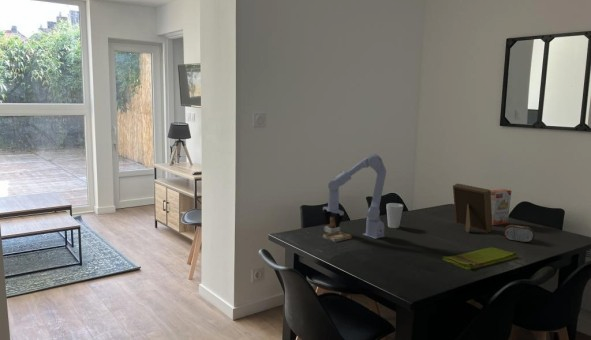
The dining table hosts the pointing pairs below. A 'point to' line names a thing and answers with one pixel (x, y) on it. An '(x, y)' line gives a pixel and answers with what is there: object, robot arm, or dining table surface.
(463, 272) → the dining table surface
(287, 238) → the dining table surface
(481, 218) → the photo frame
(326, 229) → the gray square open box
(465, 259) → the dish towel
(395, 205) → the foam cup
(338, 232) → the tray
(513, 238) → the tin
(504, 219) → the cracker box
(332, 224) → the pin
